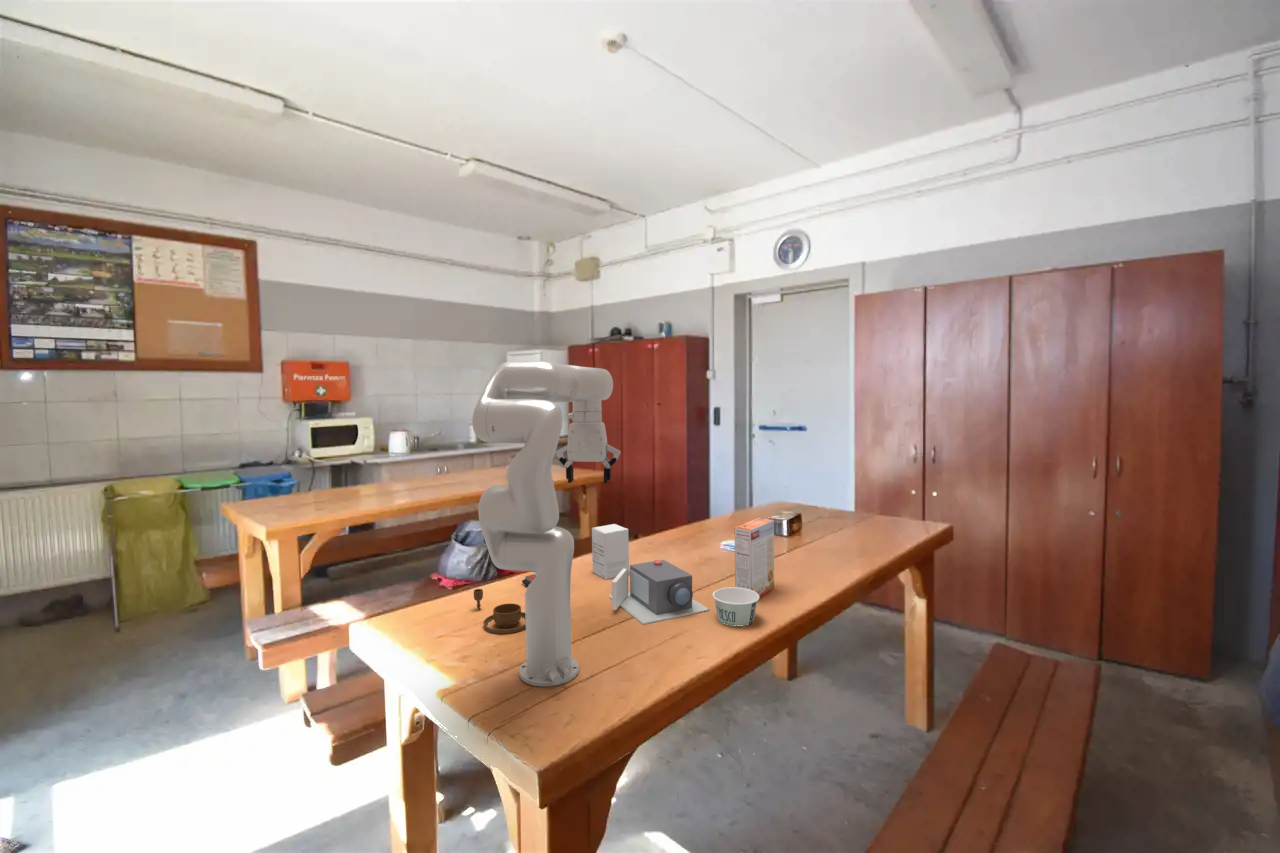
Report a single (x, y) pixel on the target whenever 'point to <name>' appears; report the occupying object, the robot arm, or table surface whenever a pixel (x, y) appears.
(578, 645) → the table surface
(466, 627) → the table surface
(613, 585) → the side door
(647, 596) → the camera box
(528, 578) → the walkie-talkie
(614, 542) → the supplement box
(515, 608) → the place setting
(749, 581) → the cracker box
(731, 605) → the food container
